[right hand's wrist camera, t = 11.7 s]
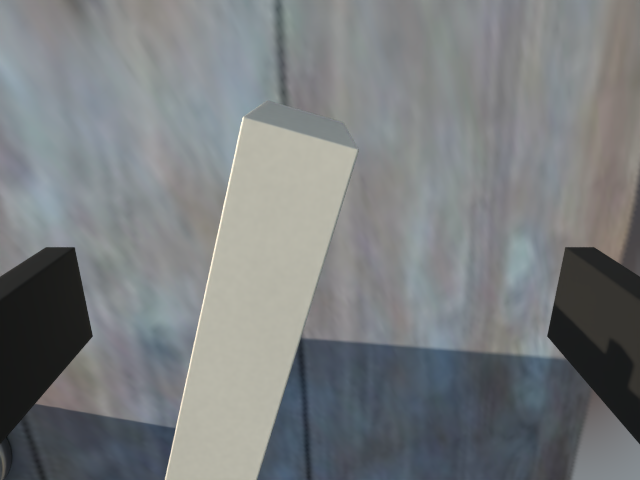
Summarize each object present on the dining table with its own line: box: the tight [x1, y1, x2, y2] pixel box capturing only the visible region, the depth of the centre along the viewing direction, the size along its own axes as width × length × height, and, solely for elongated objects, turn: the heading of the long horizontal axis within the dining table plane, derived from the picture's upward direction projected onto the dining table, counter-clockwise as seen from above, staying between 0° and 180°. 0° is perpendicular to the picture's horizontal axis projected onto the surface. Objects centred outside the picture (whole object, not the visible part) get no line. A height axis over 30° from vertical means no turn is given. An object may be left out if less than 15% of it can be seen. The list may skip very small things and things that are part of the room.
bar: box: [165, 101, 359, 480], centre depth 27 cm, size 32×5×10 cm, turn 164°
